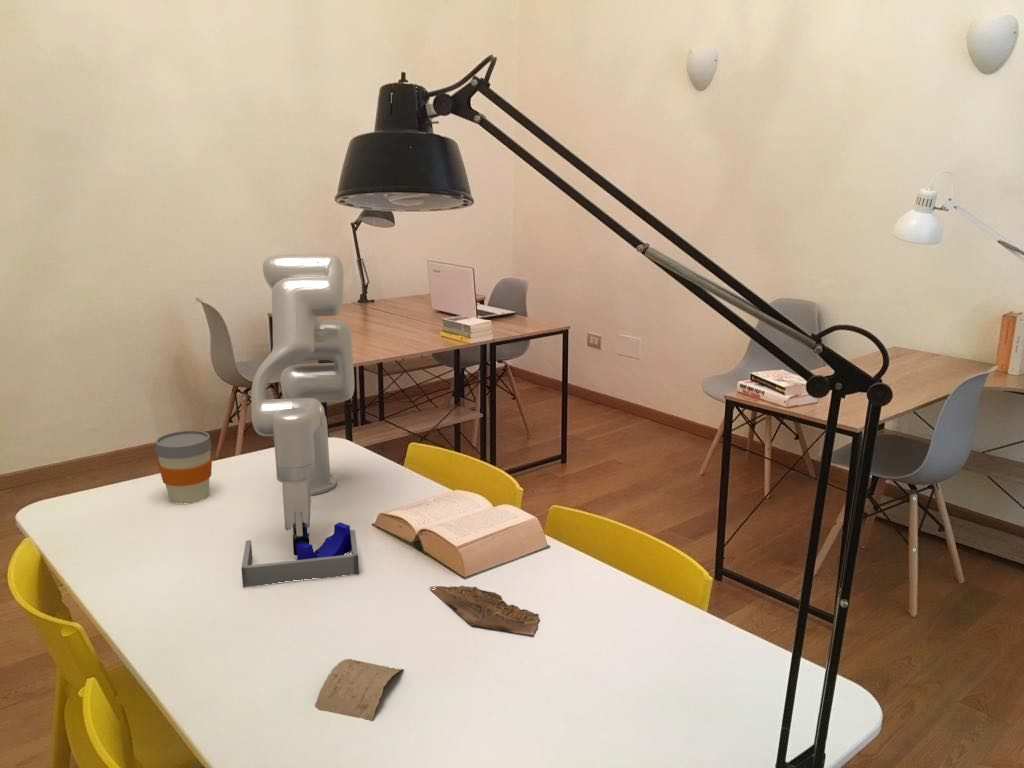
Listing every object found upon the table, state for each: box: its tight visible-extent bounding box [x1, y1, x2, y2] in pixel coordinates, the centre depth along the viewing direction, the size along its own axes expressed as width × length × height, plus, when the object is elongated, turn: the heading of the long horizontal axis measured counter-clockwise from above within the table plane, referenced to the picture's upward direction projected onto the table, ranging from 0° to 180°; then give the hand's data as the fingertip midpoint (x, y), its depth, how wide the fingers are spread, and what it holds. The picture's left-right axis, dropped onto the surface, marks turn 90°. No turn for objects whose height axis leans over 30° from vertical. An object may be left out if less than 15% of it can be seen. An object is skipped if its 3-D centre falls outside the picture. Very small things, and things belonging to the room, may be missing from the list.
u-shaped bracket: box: [240, 529, 360, 588], centre depth 160 cm, size 12×22×4 cm, turn 104°
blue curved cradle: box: [296, 521, 351, 560], centre depth 162 cm, size 12×4×6 cm, turn 147°
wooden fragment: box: [429, 585, 540, 638], centre depth 145 cm, size 26×11×1 cm, turn 48°
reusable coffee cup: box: [155, 430, 213, 505], centre depth 191 cm, size 13×13×15 cm
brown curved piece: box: [314, 658, 404, 722], centre depth 123 cm, size 14×10×3 cm
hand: (301, 553), depth 163 cm, fingers closed
